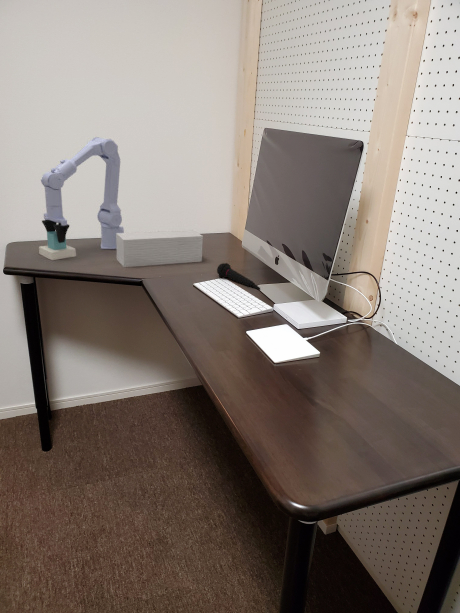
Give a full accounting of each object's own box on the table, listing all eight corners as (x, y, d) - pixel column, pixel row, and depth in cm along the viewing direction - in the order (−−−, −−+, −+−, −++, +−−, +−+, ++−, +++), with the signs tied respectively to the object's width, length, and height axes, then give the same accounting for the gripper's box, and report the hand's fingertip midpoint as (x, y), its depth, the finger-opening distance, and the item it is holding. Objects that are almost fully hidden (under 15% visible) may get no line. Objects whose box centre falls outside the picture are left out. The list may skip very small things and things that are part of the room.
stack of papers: (191, 254, 196) (192, 230, 192) (201, 261, 187) (202, 235, 183) (116, 260, 182) (116, 233, 178) (123, 267, 173) (123, 239, 169)
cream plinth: (63, 250, 188) (62, 243, 187) (75, 256, 182) (75, 248, 180) (39, 254, 181) (38, 246, 180) (51, 260, 175) (51, 252, 174)
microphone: (260, 296, 163) (220, 275, 174) (267, 281, 161) (226, 261, 173) (252, 295, 158) (211, 274, 169) (258, 280, 157) (217, 259, 168)
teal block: (60, 245, 183) (58, 230, 181) (66, 248, 180) (65, 233, 178) (48, 247, 180) (46, 232, 178) (54, 250, 177) (53, 234, 175)
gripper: (34, 202, 176) (38, 237, 181) (53, 209, 167) (56, 245, 172) (52, 201, 181) (55, 235, 186) (71, 207, 172) (73, 243, 177)
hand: (56, 240), depth 179 cm, fingers open, 7 cm apart
